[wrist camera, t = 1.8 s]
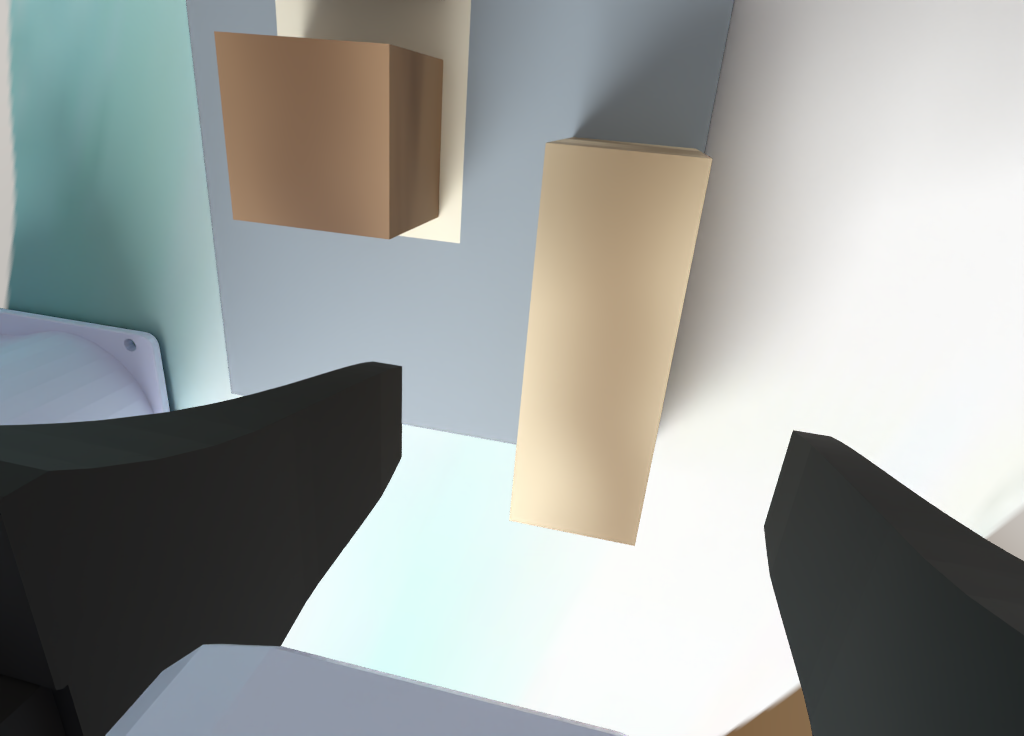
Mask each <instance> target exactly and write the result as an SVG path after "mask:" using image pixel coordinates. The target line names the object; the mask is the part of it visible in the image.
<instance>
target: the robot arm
mask: <svg viewBox="0 0 1024 736" xmlns="http://www.w3.org/2000/svg"><path fill="white" fill-rule="evenodd" d="M132 341H133V342H134V343H135V345H136V346H135V345H134V344H133V342H132ZM401 457H402V366H398V365H392V364H386V363H380V362H374V361H372V362H364V363H359V364H355V365H351V366H347V367H344V368H340V369H337V370H333V371H330V372H327V373H323V374H320V375H317V376H314V377H310V378H307V379H304V380H300V381H297V382H294V383H291V384H287V385H284V386H280V387H276V388H273V389H269V390H265V391H262V392H258V393H254V394H251V395H247V396H243V397H240V398H236V399H231V400H227V401H223V402H218V403H213V404H209V405H204V406H198V407H193V408H187V409H182V410H177V411H170V409H169V403H168V396H167V390H166V384H165V378H164V372H163V366H162V360H161V353H160V347H159V344H158V341H157V340H156V338H155V337H154V336H153V335H151V334H150V333H147V332H142V331H136V330H130V329H124V328H118V327H112V326H106V325H100V324H94V323H88V322H81V321H75V320H69V319H63V318H57V317H51V316H45V315H39V314H33V313H27V312H21V311H15V310H9V309H3V308H0V736H627V735H625V734H623V733H620V732H617V731H613V730H609V729H605V728H601V727H598V726H594V725H590V724H586V723H582V722H578V721H574V720H570V719H566V718H562V717H558V716H554V715H550V714H546V713H542V712H538V711H534V710H531V709H527V708H523V707H519V706H515V705H511V704H507V703H503V702H499V701H495V700H491V699H487V698H483V697H479V696H475V695H471V694H467V693H463V692H460V691H456V690H452V689H448V688H444V687H440V686H436V685H432V684H428V683H424V682H420V681H416V680H412V679H408V678H404V677H400V676H396V675H392V674H389V673H385V672H381V671H377V670H373V669H369V668H365V667H361V666H357V665H353V664H349V663H345V662H341V661H337V660H333V659H329V658H325V657H322V656H318V655H314V654H310V653H306V652H302V651H298V650H294V649H290V648H286V647H282V646H281V645H282V643H283V641H284V639H285V638H286V636H287V634H288V632H289V631H290V629H291V627H292V625H293V624H294V622H295V620H296V619H297V617H298V615H299V613H300V612H301V610H302V608H303V606H304V605H305V603H306V601H307V600H308V598H309V597H310V595H311V594H312V592H313V591H314V589H315V588H316V586H317V585H318V583H319V582H320V581H321V579H322V578H323V576H324V575H325V574H326V572H327V571H328V570H329V568H330V567H331V565H332V564H333V563H334V561H335V560H336V559H337V557H338V556H339V555H340V553H341V552H342V550H343V549H344V548H345V546H346V545H347V544H348V542H349V541H350V540H351V538H352V537H353V535H354V534H355V533H356V531H357V530H358V529H359V527H360V526H361V525H362V523H363V522H364V520H365V519H366V518H367V516H368V515H369V513H370V512H371V511H372V509H373V508H374V506H375V505H376V503H377V502H378V501H379V499H380V498H381V496H382V494H383V492H384V491H385V489H386V487H387V485H388V483H389V481H390V479H391V477H392V475H393V473H394V471H395V469H396V467H397V465H398V463H399V461H400V459H401ZM764 531H765V540H766V549H767V557H768V565H769V572H770V577H771V581H772V585H773V589H774V592H775V596H776V600H777V603H778V607H779V610H780V614H781V618H782V621H783V625H784V628H785V632H786V635H787V639H788V642H789V645H790V649H791V652H792V656H793V659H794V663H795V666H796V670H797V673H798V677H799V680H800V684H801V687H802V691H803V694H804V698H805V703H806V707H807V711H808V715H809V719H810V724H811V729H812V735H813V736H1024V561H1023V560H1021V559H1019V558H1017V557H1015V556H1013V555H1012V554H1010V553H1008V552H1006V551H1005V550H1003V549H1001V548H1000V547H998V546H996V545H995V544H993V543H991V542H989V541H988V540H986V539H985V538H983V537H981V536H980V535H978V534H977V533H975V532H973V531H972V530H970V529H969V528H967V527H966V526H964V525H962V524H961V523H959V522H958V521H956V520H955V519H953V518H951V517H950V516H948V515H947V514H945V513H944V512H942V511H941V510H939V509H938V508H936V507H935V506H933V505H932V504H930V503H929V502H927V501H926V500H924V499H923V498H922V497H920V496H919V495H917V494H916V493H914V492H913V491H911V490H910V489H909V488H907V487H906V486H904V485H903V484H901V483H900V482H899V481H897V480H896V479H894V478H893V477H892V476H890V475H889V474H887V473H886V472H885V471H883V470H882V469H880V468H879V467H877V466H876V465H875V464H873V463H872V462H870V461H869V460H868V459H866V458H865V457H863V456H862V455H860V454H859V453H857V452H856V451H854V450H853V449H851V448H850V447H848V446H847V445H845V444H844V443H842V442H840V441H838V440H836V439H834V438H832V437H830V436H824V435H818V434H812V433H806V432H800V431H794V430H793V432H792V436H791V439H790V442H789V445H788V449H787V452H786V455H785V459H784V462H783V465H782V468H781V472H780V475H779V478H778V482H777V485H776V488H775V492H774V495H773V498H772V501H771V505H770V508H769V511H768V515H767V518H766V521H765V525H764Z"/></svg>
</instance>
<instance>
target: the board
mask: <svg viewBox="0 0 1024 736" xmlns="http://www.w3.org/2000/svg"><path fill="white" fill-rule="evenodd" d="M733 4H734V0H186V6H187V14H188V23H189V32H190V40H191V49H192V57H193V66H194V75H195V83H196V92H197V101H198V109H199V118H200V126H201V135H202V144H203V152H204V161H205V170H206V178H207V187H208V196H209V204H210V213H211V221H212V230H213V239H214V247H215V256H216V265H217V273H218V282H219V290H220V299H221V308H222V316H223V325H224V334H225V342H226V351H227V360H228V368H229V377H230V385H231V393H232V394H238V395H243V396H247V395H251V394H254V393H258V392H262V391H265V390H269V389H273V388H276V387H280V386H284V385H287V384H291V383H294V382H297V381H300V380H304V379H307V378H310V377H314V376H317V375H320V374H323V373H327V372H330V371H333V370H337V369H340V368H344V367H347V366H351V365H355V364H359V363H364V362H372V361H374V362H380V363H386V364H392V365H398V366H402V424H405V425H411V426H416V427H422V428H427V429H433V430H438V431H444V432H450V433H455V434H461V435H466V436H472V437H477V438H483V439H489V440H494V441H500V442H505V443H511V444H516V445H517V436H518V425H519V415H520V405H521V394H522V384H523V374H524V363H525V353H526V342H527V332H528V322H529V311H530V301H531V291H532V280H533V270H534V259H535V249H536V239H537V228H538V218H539V207H540V197H541V187H542V176H543V166H544V156H545V145H546V143H547V142H552V141H556V140H561V139H566V138H571V137H577V138H588V139H599V140H609V141H620V142H631V143H641V144H652V145H663V146H673V147H684V148H695V149H697V150H699V151H701V152H702V153H704V152H705V147H706V142H707V137H708V132H709V127H710V122H711V117H712V111H713V106H714V101H715V96H716V91H717V86H718V81H719V76H720V70H721V65H722V60H723V55H724V50H725V45H726V40H727V35H728V30H729V24H730V19H731V14H732V9H733ZM214 31H218V32H231V33H245V34H259V35H273V36H287V37H300V38H314V39H328V40H342V41H356V42H370V43H383V44H391V45H395V46H398V47H401V48H405V49H408V50H412V51H415V52H418V53H422V54H425V55H429V56H432V57H435V58H439V59H442V60H443V87H442V119H441V151H440V183H439V214H438V218H436V219H433V220H431V221H429V222H427V223H425V224H422V225H420V226H418V227H416V228H414V229H411V230H409V231H407V232H405V233H403V234H400V235H398V236H396V237H394V238H392V239H381V238H373V237H365V236H358V235H350V234H342V233H334V232H326V231H318V230H311V229H303V228H295V227H287V226H279V225H271V224H264V223H256V222H248V221H240V220H233V213H232V203H231V194H230V184H229V174H228V164H227V154H226V144H225V135H224V125H223V115H222V105H221V95H220V85H219V76H218V66H217V56H216V46H215V36H214Z"/></svg>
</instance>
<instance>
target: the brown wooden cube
mask: <svg viewBox="0 0 1024 736" xmlns="http://www.w3.org/2000/svg"><path fill="white" fill-rule="evenodd" d="M214 36H215V46H216V56H217V66H218V76H219V85H220V95H221V105H222V115H223V125H224V135H225V144H226V154H227V164H228V174H229V184H230V194H231V203H232V213H233V220H240V221H248V222H256V223H264V224H271V225H279V226H287V227H295V228H303V229H311V230H318V231H326V232H334V233H342V234H350V235H358V236H365V237H373V238H381V239H392V238H394V237H396V236H398V235H400V234H403V233H405V232H407V231H409V230H411V229H414V228H416V227H418V226H420V225H422V224H425V223H427V222H429V221H431V220H433V219H436V218H438V214H439V183H440V151H441V119H442V87H443V60H442V59H439V58H435V57H432V56H429V55H425V54H422V53H418V52H415V51H412V50H408V49H405V48H401V47H398V46H395V45H391V44H383V43H370V42H356V41H342V40H328V39H314V38H300V37H287V36H273V35H259V34H245V33H231V32H218V31H214Z"/></svg>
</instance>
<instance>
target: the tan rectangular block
mask: <svg viewBox="0 0 1024 736" xmlns="http://www.w3.org/2000/svg"><path fill="white" fill-rule="evenodd" d="M711 164H712V158H711V157H709V156H707V155H706V154H704V153H702V152H701V151H699V150H697V149H695V148H684V147H673V146H663V145H652V144H641V143H631V142H620V141H609V140H599V139H588V138H577V137H571V138H566V139H561V140H556V141H552V142H547V143H546V145H545V156H544V166H543V176H542V187H541V197H540V207H539V218H538V228H537V239H536V249H535V259H534V270H533V280H532V291H531V301H530V311H529V322H528V332H527V342H526V353H525V363H524V374H523V384H522V394H521V405H520V415H519V425H518V436H517V446H516V457H515V467H514V477H513V488H512V498H511V509H510V519H509V521H514V522H519V523H524V524H529V525H534V526H539V527H544V528H549V529H554V530H559V531H564V532H569V533H574V534H579V535H584V536H589V537H594V538H599V539H604V540H609V541H614V542H619V543H624V544H629V545H634V546H635V542H636V537H637V532H638V527H639V522H640V517H641V512H642V507H643V502H644V497H645V492H646V487H647V482H648V477H649V472H650V467H651V462H652V457H653V452H654V447H655V442H656V437H657V432H658V427H659V422H660V417H661V413H662V408H663V403H664V398H665V393H666V388H667V383H668V378H669V373H670V368H671V363H672V358H673V353H674V348H675V343H676V338H677V333H678V328H679V323H680V318H681V313H682V308H683V303H684V298H685V293H686V288H687V283H688V278H689V274H690V269H691V264H692V259H693V254H694V249H695V244H696V239H697V234H698V229H699V224H700V219H701V214H702V209H703V204H704V199H705V194H706V189H707V184H708V179H709V174H710V169H711Z"/></svg>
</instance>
